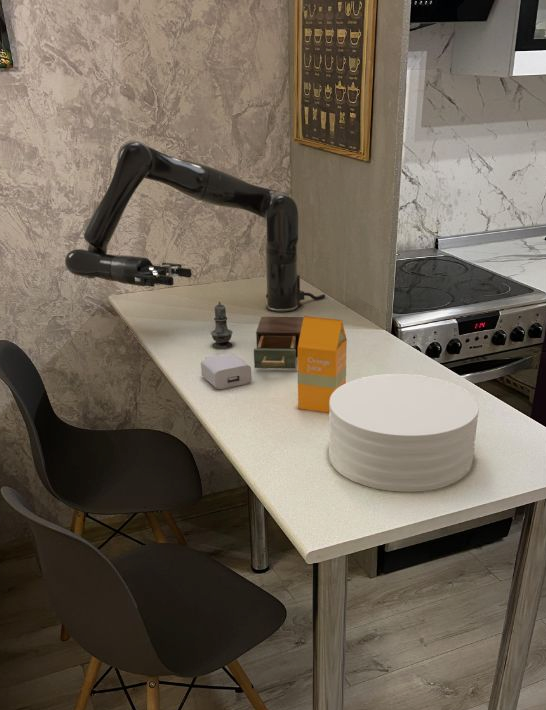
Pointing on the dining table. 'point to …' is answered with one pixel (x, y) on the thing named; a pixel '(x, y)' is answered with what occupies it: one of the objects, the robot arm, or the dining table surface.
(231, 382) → the charger
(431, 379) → the plate stack
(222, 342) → the salt shaker
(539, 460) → the dining table surface
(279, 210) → the robot arm
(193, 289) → the dining table surface
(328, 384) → the orange juice
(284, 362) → the drawer
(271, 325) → the cabinet
